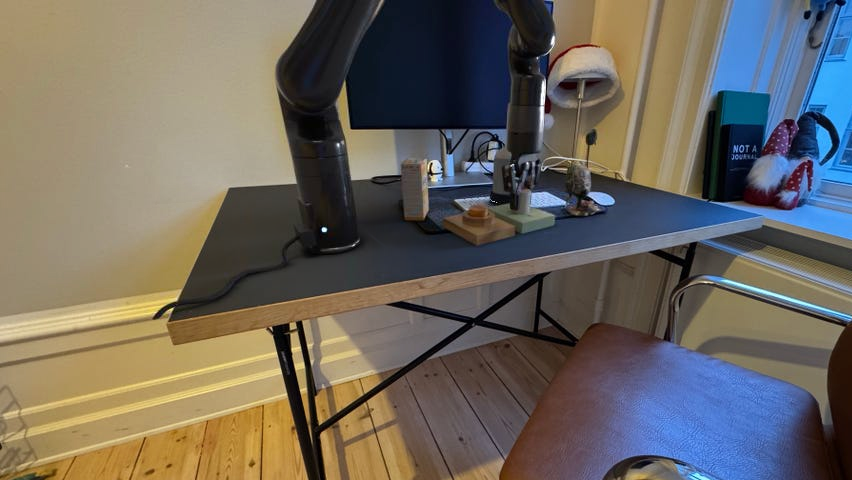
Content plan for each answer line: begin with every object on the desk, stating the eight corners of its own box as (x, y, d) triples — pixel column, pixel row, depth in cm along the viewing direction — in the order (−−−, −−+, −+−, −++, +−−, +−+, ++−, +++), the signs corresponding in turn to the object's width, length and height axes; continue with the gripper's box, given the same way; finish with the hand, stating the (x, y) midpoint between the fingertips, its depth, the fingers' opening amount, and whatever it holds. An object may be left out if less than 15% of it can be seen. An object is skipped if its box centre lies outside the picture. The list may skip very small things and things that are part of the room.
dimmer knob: (522, 215, 83) (524, 192, 80) (506, 211, 85) (508, 188, 83) (532, 210, 86) (534, 188, 83) (517, 207, 88) (518, 185, 86)
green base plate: (521, 233, 79) (522, 222, 78) (485, 217, 89) (486, 207, 87) (554, 225, 85) (555, 214, 83) (517, 211, 94) (517, 201, 93)
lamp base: (476, 245, 73) (476, 226, 71) (443, 227, 82) (442, 209, 80) (514, 235, 78) (515, 217, 76) (479, 219, 88) (479, 203, 86)
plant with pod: (552, 209, 96) (561, 128, 87) (588, 206, 99) (601, 127, 90) (569, 219, 89) (580, 131, 80) (607, 215, 92) (623, 130, 83)
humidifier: (522, 200, 103) (529, 103, 92) (515, 208, 96) (522, 104, 85) (494, 197, 105) (498, 102, 94) (486, 205, 98) (488, 102, 87)
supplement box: (424, 221, 86) (421, 163, 80) (404, 220, 86) (399, 163, 80) (429, 210, 93) (427, 157, 87) (410, 210, 93) (407, 156, 87)
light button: (476, 219, 76) (476, 211, 75) (465, 214, 79) (465, 206, 78) (491, 216, 78) (491, 208, 77) (480, 211, 81) (480, 204, 80)
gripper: (527, 125, 85) (522, 198, 92) (491, 129, 74) (489, 211, 82) (556, 127, 81) (549, 203, 88) (523, 132, 70) (517, 217, 78)
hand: (520, 206), depth 85 cm, fingers closed on dimmer knob, 4 cm apart
